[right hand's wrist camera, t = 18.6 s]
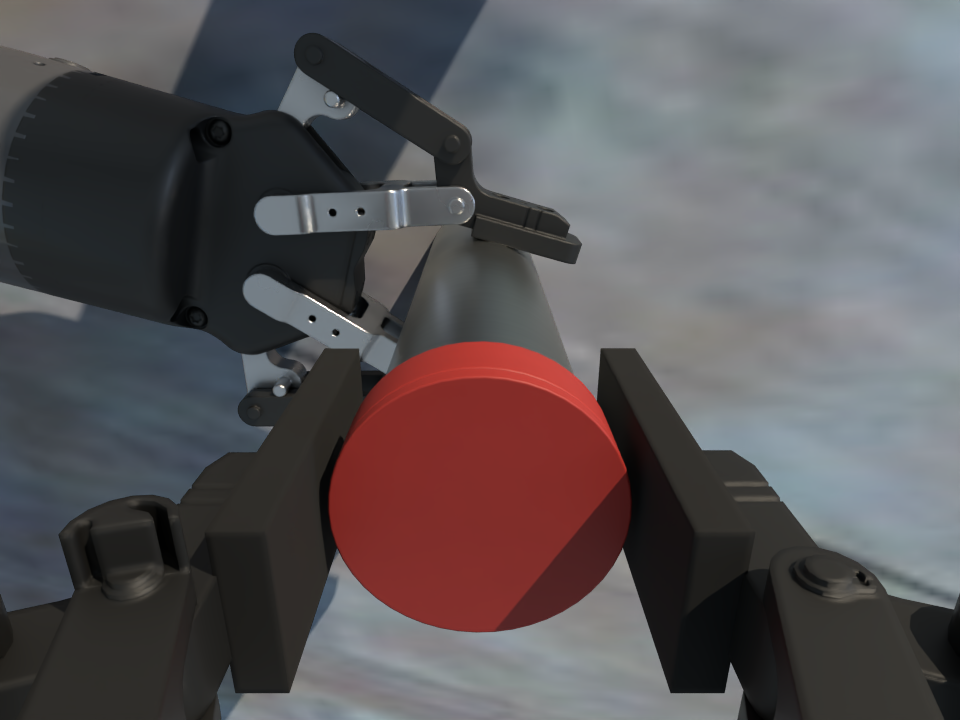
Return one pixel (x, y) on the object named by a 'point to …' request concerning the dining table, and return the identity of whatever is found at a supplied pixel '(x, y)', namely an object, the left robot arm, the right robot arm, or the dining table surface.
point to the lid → (479, 489)
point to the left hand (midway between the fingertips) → (551, 315)
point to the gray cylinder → (478, 300)
